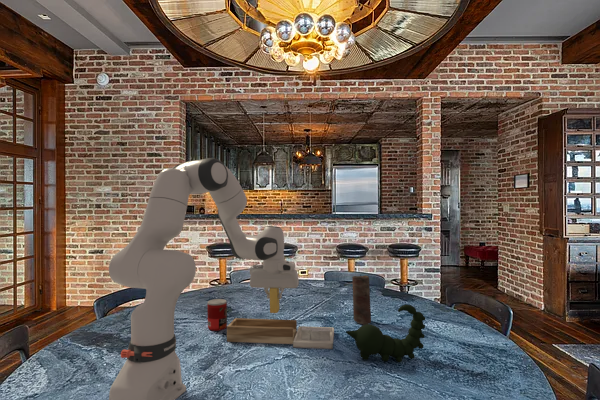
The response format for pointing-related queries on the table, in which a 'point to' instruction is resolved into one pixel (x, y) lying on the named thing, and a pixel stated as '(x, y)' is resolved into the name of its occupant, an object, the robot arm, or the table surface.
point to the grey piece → (315, 334)
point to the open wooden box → (262, 331)
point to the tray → (313, 344)
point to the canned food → (217, 314)
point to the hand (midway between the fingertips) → (274, 298)
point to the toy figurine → (390, 339)
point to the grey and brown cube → (325, 334)
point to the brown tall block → (361, 299)
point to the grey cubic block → (306, 333)
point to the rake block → (274, 300)
